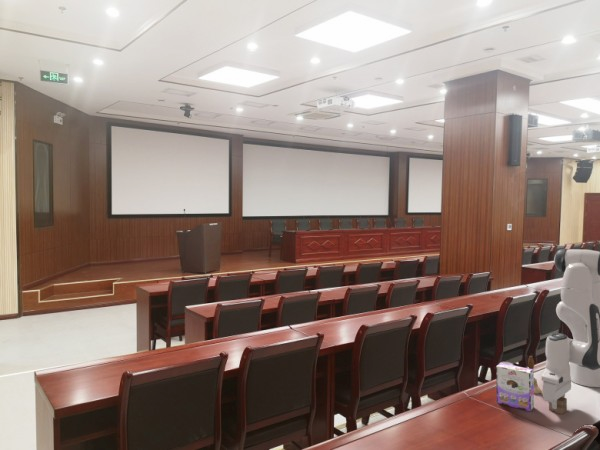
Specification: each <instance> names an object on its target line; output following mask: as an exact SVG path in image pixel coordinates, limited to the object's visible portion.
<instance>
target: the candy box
mask: <svg viewBox="0 0 600 450" xmlns="http://www.w3.org/2000/svg"><path fill="white" fill-rule="evenodd" d="M495 371H496V377H495V379H496V382H495V383H496V384H495V386H496V403H497V404H500V405H501V404H502V405H505V406H509V407H512V408H516V409H519V410H523V411H527V412H531V411H532V410H533V409H534V408H535V394H534V378H535V377H534V368H533V369H529V367H528V368H527V367H522V366H518V365H515V364H513V365H509V364H504V363H500V362H499V363H498V364H497V365H496V366H495Z"/></svg>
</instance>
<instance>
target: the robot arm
mask: <svg viewBox="0 0 600 450" xmlns="http://www.w3.org/2000/svg"><path fill="white" fill-rule="evenodd" d="M553 262H554V266H555V269H556V270H558V271H559V272H561V275H562V274H563V276H562V281H561V287H560V299H561V301H559V302H558V303H557V304H556V308H555V312H556V315H557V317H558V318H559V320H560V321H561V322H563V323H564V324H565V325H566V326H567V327H568V328H569V330H570V332H571V334H572V337H573V339H572V338H569V337H568V335H566V334H564V333H563V332H561V333H560V332H553V333H550V334H548V335H547V338H546V340H545V357H546V361H545V368H544V372H543V373H542V375H541V381H543V382H542V396H543V400H544V401H545V402H548V403H549V402H551V403H552V408H553V409H557V408H558V404H557V399H559V398H560V397H564V398H566V394H567V393H568V392H569V391H571V389H572V382H573V383H575V384H577V385H581V386H584V387H589V388H600V251H598V250H592V249H585V248H584V249H575V248H574V249H573V248H572V249H571V248H570V249H569V248H561V249H558V250H557V251H556V253H555V254H554V258H553Z"/></svg>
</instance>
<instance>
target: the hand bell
mask: <svg viewBox="0 0 600 450" xmlns="http://www.w3.org/2000/svg"><path fill="white" fill-rule="evenodd" d="M527 365H528V369H533V370H534V367H535V360H534V357H533V356H532V355H529V356H528V360H527ZM541 393H542V389H541V388H540V387H539V385H538V380H537V378H536V377H534V395H535V394H541Z"/></svg>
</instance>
